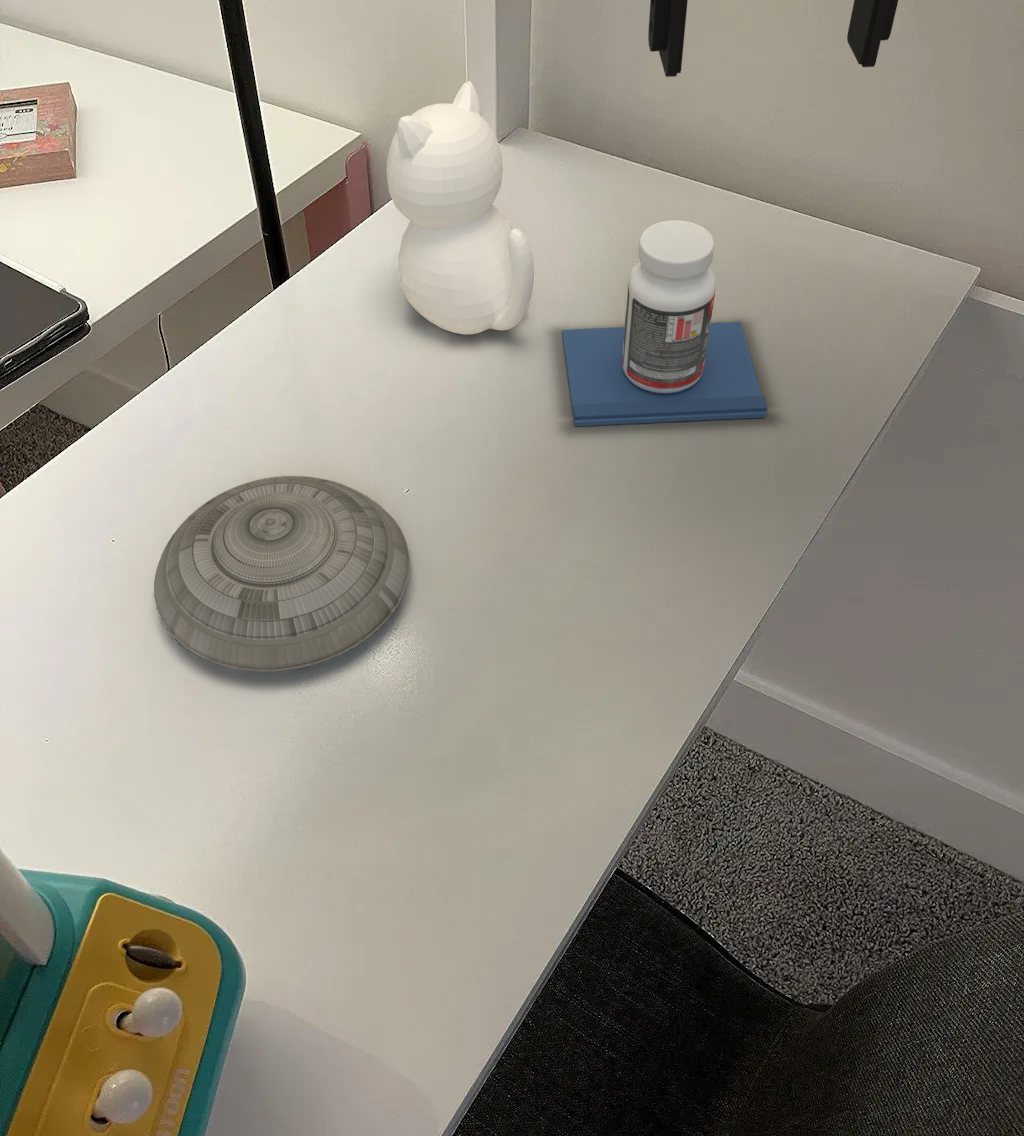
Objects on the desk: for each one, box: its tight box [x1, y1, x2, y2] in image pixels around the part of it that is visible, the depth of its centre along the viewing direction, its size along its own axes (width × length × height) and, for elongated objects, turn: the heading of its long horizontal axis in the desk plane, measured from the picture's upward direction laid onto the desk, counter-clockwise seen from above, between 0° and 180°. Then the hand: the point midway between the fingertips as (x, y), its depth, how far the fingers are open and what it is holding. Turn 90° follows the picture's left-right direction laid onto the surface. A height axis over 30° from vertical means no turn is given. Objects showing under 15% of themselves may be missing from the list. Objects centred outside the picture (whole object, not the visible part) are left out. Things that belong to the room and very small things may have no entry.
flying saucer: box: [153, 475, 411, 672], centre depth 66 cm, size 15×15×6 cm
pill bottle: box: [622, 219, 717, 393], centre depth 75 cm, size 6×6×10 cm
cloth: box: [561, 321, 768, 427], centre depth 79 cm, size 13×10×1 cm
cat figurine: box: [386, 80, 535, 335], centre depth 77 cm, size 9×12×15 cm
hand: (764, 59), depth 57 cm, fingers open, 9 cm apart
